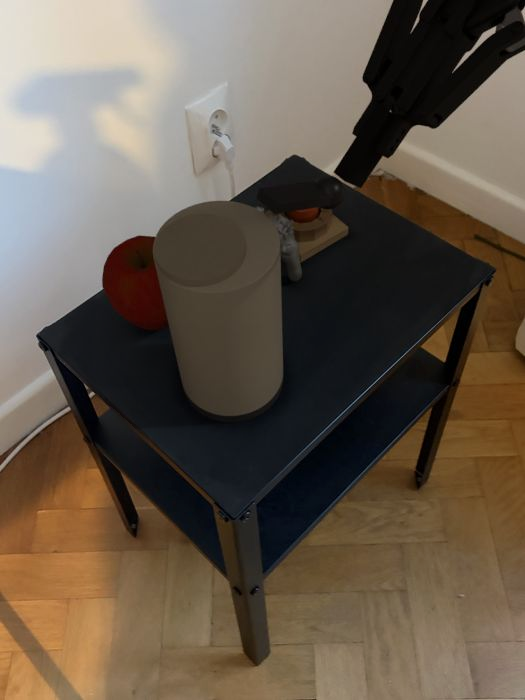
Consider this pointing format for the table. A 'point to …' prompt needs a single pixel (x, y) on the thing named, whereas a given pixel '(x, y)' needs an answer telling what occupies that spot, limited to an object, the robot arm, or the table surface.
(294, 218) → the button
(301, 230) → the button base
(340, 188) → the switch
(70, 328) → the table surface
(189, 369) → the beige cylinder
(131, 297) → the apple
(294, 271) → the grey toy figure
